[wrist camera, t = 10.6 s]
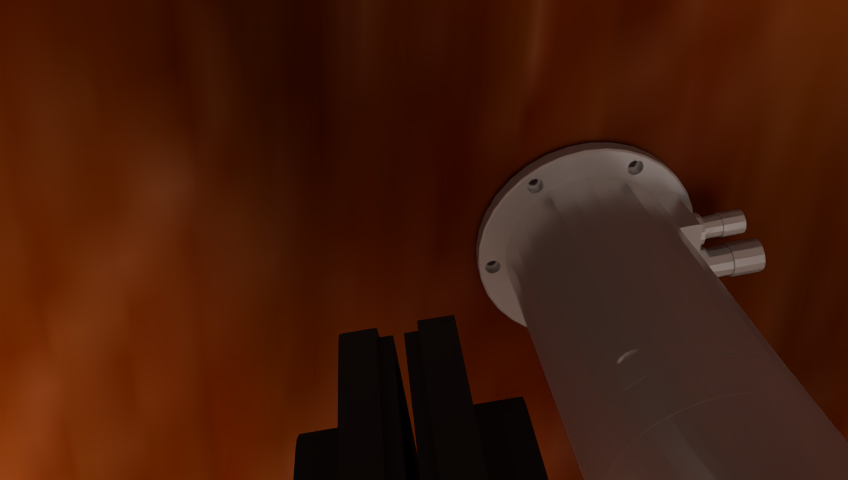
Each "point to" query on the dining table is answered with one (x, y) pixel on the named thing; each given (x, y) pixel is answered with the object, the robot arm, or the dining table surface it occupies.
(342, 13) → the dining table surface
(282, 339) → the dining table surface
